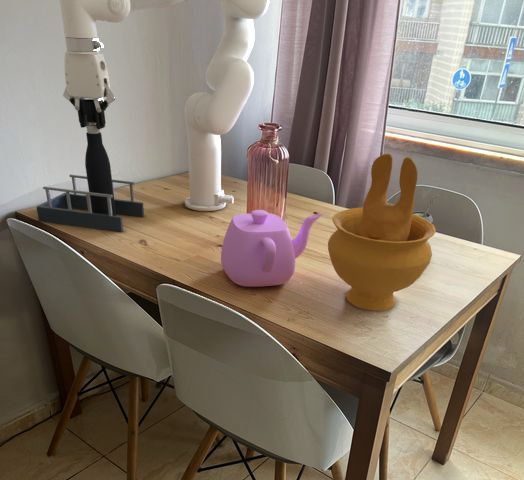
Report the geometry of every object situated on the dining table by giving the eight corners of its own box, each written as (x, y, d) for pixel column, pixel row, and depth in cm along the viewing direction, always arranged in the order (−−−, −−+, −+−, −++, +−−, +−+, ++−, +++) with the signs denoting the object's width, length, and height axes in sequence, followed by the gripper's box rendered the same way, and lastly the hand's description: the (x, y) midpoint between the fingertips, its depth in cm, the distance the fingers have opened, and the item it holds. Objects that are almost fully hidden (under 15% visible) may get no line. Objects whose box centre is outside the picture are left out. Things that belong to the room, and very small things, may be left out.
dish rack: (144, 216, 158) (141, 182, 153) (121, 232, 146) (118, 196, 141) (66, 205, 162) (61, 173, 157) (38, 220, 151) (32, 185, 146)
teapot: (231, 302, 114) (232, 233, 106) (215, 262, 132) (215, 200, 124) (334, 295, 119) (342, 229, 111) (306, 257, 137) (311, 197, 128)
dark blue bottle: (112, 220, 151) (98, 102, 135) (89, 219, 151) (72, 101, 135) (118, 213, 156) (105, 98, 140) (96, 212, 156) (80, 97, 140)
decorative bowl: (304, 302, 116) (318, 156, 100) (348, 270, 131) (366, 139, 115) (398, 334, 106) (429, 177, 90) (434, 295, 121) (466, 155, 105)
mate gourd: (403, 236, 152) (414, 182, 144) (432, 241, 150) (444, 186, 142) (400, 246, 146) (410, 189, 138) (430, 250, 144) (442, 194, 136)
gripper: (121, 47, 132) (129, 127, 142) (60, 43, 136) (71, 122, 145) (106, 49, 126) (115, 133, 136) (42, 45, 129) (55, 127, 139)
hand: (92, 126), depth 141 cm, fingers closed on dark blue bottle, 3 cm apart
